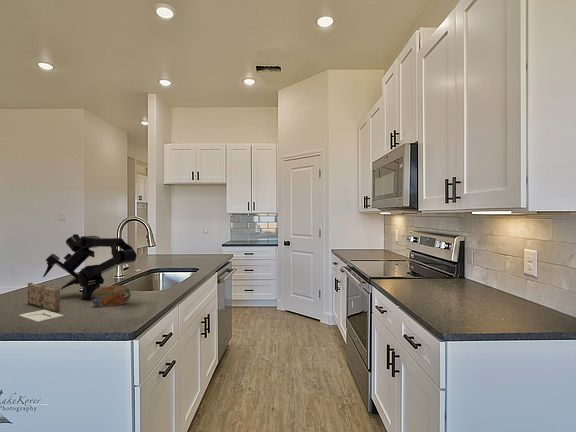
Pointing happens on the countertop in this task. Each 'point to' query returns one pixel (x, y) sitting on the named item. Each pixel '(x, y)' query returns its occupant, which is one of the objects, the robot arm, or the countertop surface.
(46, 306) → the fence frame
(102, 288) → the tin
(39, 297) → the fence panel
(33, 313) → the card
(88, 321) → the countertop surface
